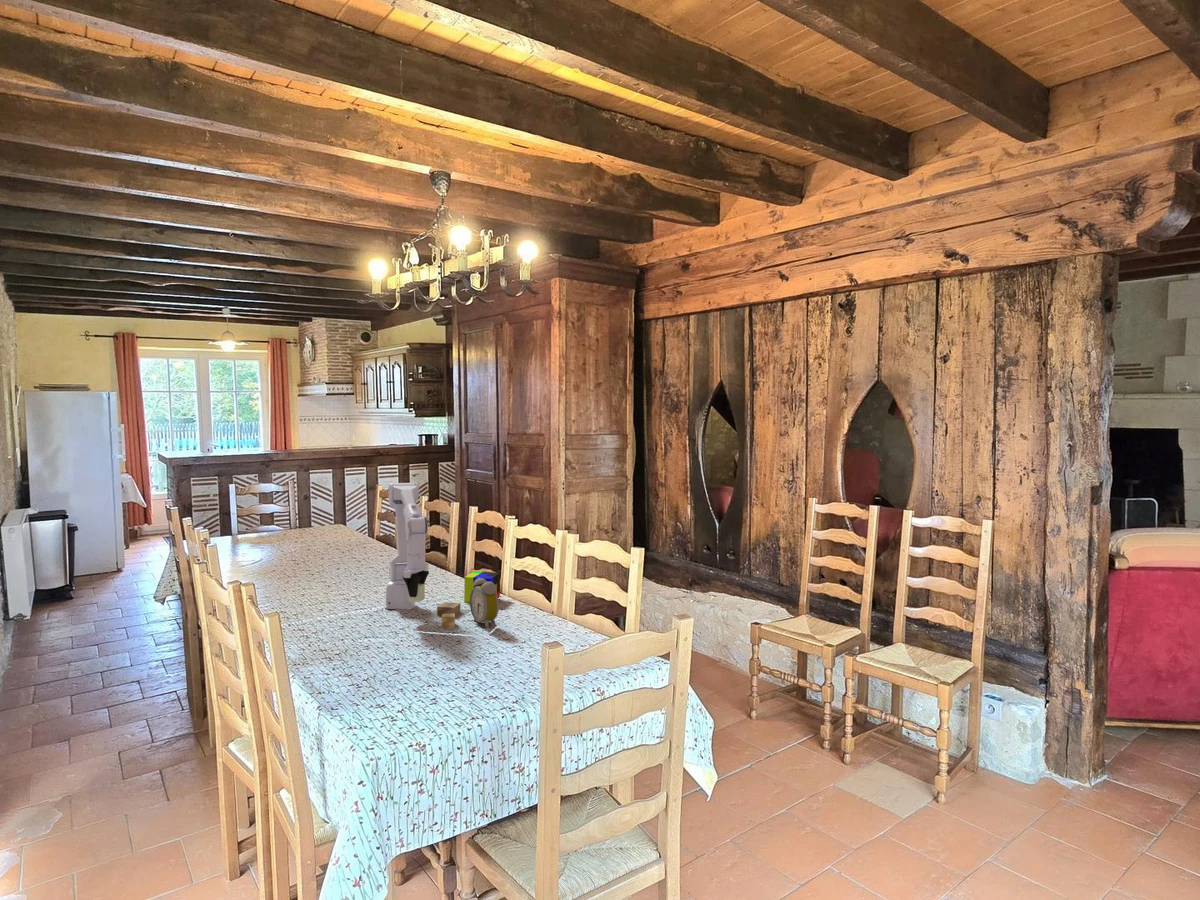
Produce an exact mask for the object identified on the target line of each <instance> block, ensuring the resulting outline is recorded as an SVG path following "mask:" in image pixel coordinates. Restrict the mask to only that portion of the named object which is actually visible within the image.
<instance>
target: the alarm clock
mask: <svg viewBox="0 0 1200 900" xmlns="http://www.w3.org/2000/svg"><path fill="white" fill-rule="evenodd" d="M469 608H470V609H469V610H471V611H470V612H471V615H472V618H473V622H477V623H483V624H484V626H485V629H489V626H490V623H492V624H495V623H496V621H495V620H496V618H497V616H498V614H499V611H500V600H498V596H497V593H496V586H495V584H494V583H492V582H487V581H486V580H485V579H483V578H478V579H476V580H475V581H474V583H473V589H472V591H471V595H470V603H469Z"/></svg>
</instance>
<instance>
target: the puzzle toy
mask: <svg viewBox="0 0 1200 900" xmlns="http://www.w3.org/2000/svg"><path fill="white" fill-rule="evenodd" d="M478 578H483V579H485V580H486V581H487V582H492V583H494V584H495V586H496V593H497V596H498V598H499V597H500V598H501V572H491V571H478V570H475V571H472V572H471V573H469V574H467V575H465V576H464V588H463V589H464V590H463V591H464V595H463V597H464V599H463V600H464V601H463V603H466V604H467V603H469V604H470V595H471V591H472V589H473V583H474V581H475V580H476V579H478Z"/></svg>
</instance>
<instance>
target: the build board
mask: <svg viewBox="0 0 1200 900" xmlns="http://www.w3.org/2000/svg"><path fill="white" fill-rule="evenodd" d="M470 612H471V609H462V608H460V612H459V613H458V614H457V615H455V621H456V620H458V621H460V620H461V619H462V618H463V617H465V616H467V614H468V613H470ZM425 618H427V619H429V618H430V619H431V618H432V619H441V620H442V616H439V615H437V609H435V610H433V611H432V612H431V613H429V614H428V615H426V616H425Z"/></svg>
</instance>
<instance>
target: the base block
mask: <svg viewBox="0 0 1200 900" xmlns="http://www.w3.org/2000/svg"><path fill="white" fill-rule="evenodd" d="M460 609H461V603H460V602H451V601H450V602H447V601H443V602H442V603H441V604H439V605H437V607H436V610H437V615H439V616H442V614H455V615H457V614H458V613H459V612H460Z"/></svg>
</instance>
